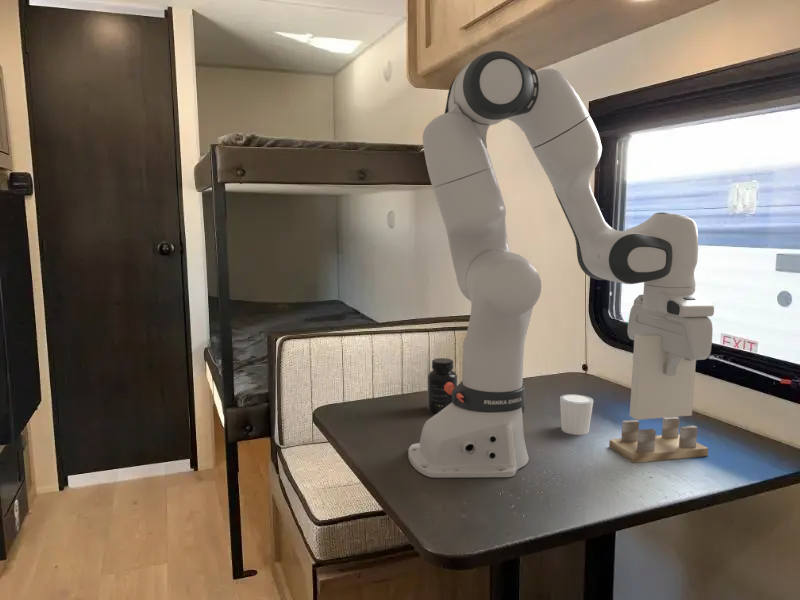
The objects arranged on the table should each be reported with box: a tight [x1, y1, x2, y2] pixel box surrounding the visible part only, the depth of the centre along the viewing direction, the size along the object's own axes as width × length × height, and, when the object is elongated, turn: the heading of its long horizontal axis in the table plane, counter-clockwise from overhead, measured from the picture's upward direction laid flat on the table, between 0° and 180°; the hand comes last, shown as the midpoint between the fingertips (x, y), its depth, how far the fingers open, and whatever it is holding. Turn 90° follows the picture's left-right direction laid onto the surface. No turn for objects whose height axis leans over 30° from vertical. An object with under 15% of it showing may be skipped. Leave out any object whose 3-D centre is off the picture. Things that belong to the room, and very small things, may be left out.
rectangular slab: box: [629, 333, 697, 421], centre depth 117 cm, size 12×3×16 cm, turn 103°
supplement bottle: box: [427, 357, 458, 415], centre depth 142 cm, size 7×7×12 cm
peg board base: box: [608, 417, 709, 464], centre depth 119 cm, size 16×8×6 cm, turn 103°
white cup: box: [559, 393, 594, 436], centre depth 131 cm, size 7×7×7 cm
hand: (663, 372), depth 118 cm, fingers closed on rectangular slab, 2 cm apart
